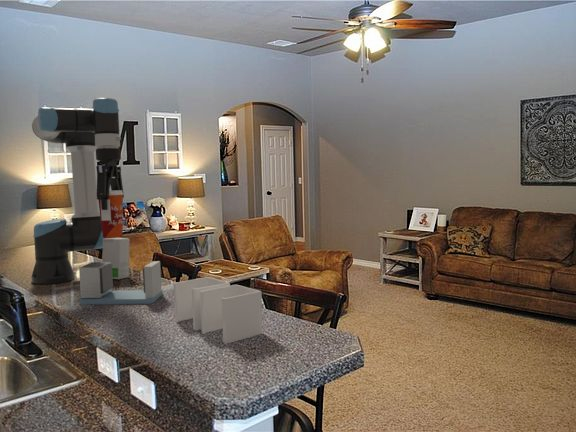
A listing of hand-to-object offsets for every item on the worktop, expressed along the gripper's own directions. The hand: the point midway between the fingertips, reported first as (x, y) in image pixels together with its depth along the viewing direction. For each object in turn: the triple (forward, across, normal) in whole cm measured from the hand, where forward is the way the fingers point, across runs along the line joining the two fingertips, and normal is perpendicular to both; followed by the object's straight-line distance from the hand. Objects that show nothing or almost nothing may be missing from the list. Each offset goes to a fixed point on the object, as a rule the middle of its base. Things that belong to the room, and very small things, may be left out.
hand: (112, 219), depth 167 cm
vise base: (+26, 0, -2) cm, 26 cm away
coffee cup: (+6, 0, 0) cm, 6 cm away
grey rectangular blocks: (+28, -30, -39) cm, 56 cm away
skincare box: (+26, +34, +14) cm, 44 cm away
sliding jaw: (+24, 0, +6) cm, 25 cm away
